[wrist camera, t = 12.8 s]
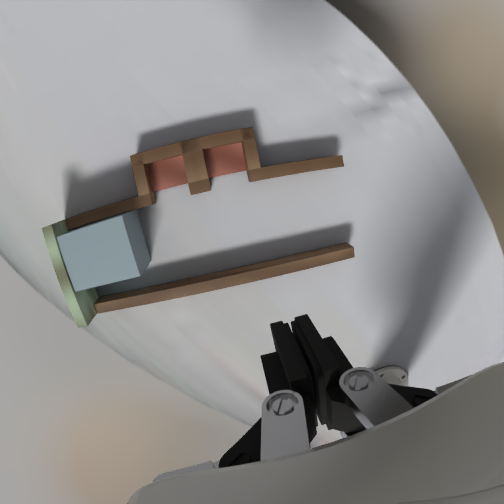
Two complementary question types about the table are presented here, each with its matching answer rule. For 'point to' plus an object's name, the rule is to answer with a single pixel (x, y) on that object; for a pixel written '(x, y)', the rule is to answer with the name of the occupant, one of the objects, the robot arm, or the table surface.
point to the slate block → (105, 251)
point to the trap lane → (197, 176)
